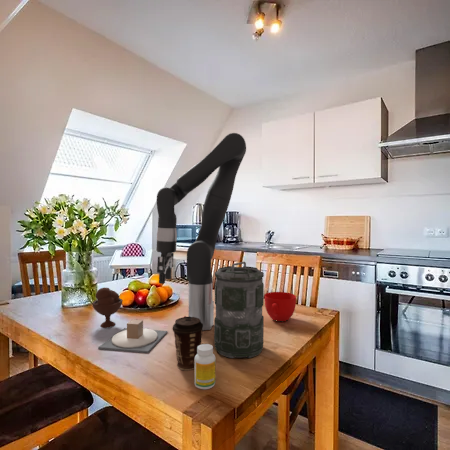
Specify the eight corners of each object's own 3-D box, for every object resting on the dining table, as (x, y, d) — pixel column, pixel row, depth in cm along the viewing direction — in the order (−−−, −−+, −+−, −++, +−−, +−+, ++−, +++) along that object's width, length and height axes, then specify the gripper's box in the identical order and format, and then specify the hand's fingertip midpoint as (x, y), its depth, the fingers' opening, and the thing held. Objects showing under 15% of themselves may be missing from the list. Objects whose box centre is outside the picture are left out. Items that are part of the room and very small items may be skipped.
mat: (167, 332, 111) (167, 330, 111) (148, 353, 94) (148, 351, 94) (124, 329, 114) (124, 327, 114) (98, 348, 97) (98, 347, 97)
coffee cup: (189, 355, 93) (189, 313, 93) (209, 363, 88) (209, 319, 88) (167, 365, 86) (167, 320, 86) (187, 375, 81) (187, 327, 81)
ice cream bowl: (113, 331, 112) (112, 291, 112) (86, 329, 114) (86, 289, 114) (127, 321, 123) (127, 284, 122) (103, 319, 125) (102, 283, 124)
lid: (163, 331, 110) (163, 316, 110) (146, 349, 96) (146, 331, 95) (125, 329, 113) (125, 313, 113) (102, 346, 98) (102, 328, 98)
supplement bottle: (191, 381, 78) (191, 344, 78) (210, 376, 81) (210, 341, 80) (198, 392, 74) (199, 353, 73) (218, 386, 76) (219, 349, 76)
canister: (231, 335, 109) (232, 257, 108) (271, 346, 100) (272, 261, 99) (204, 351, 96) (204, 263, 95) (247, 365, 87) (247, 268, 86)
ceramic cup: (256, 325, 119) (257, 300, 119) (269, 312, 135) (269, 290, 134) (289, 330, 114) (289, 304, 114) (298, 317, 129) (299, 293, 129)
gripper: (171, 241, 110) (169, 285, 110) (180, 238, 124) (178, 278, 125) (151, 240, 111) (149, 284, 111) (162, 237, 125) (161, 276, 125)
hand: (165, 281), depth 118 cm, fingers open, 8 cm apart
